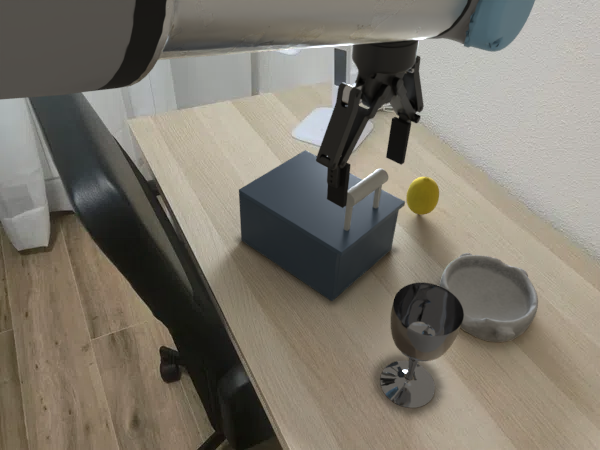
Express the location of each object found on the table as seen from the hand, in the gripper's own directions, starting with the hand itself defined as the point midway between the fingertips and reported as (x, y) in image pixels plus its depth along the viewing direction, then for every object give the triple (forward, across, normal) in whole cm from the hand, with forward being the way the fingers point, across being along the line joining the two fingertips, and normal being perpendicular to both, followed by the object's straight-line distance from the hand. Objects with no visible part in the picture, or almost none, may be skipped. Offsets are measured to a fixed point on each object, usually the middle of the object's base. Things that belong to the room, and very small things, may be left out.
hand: (367, 180), depth 77 cm
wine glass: (+18, -12, -18) cm, 28 cm away
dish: (+18, +7, -19) cm, 27 cm away
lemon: (+18, +19, 0) cm, 26 cm away
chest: (+17, 0, +8) cm, 19 cm away
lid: (+8, 0, +8) cm, 11 cm away
